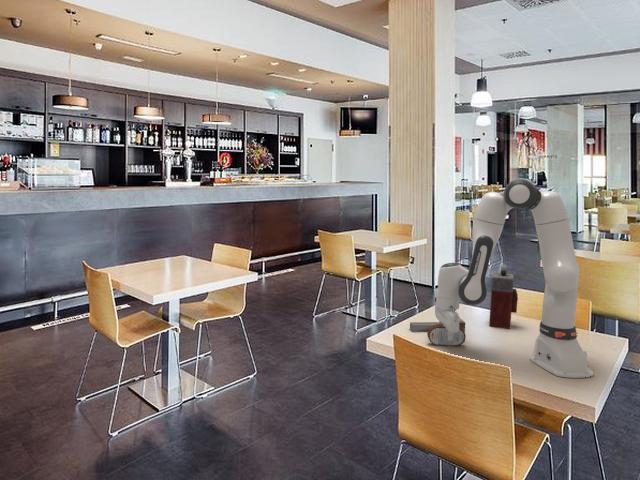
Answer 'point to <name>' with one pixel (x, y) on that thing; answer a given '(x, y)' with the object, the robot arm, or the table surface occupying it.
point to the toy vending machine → (502, 299)
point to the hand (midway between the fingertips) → (445, 335)
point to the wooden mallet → (429, 325)
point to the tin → (445, 336)
